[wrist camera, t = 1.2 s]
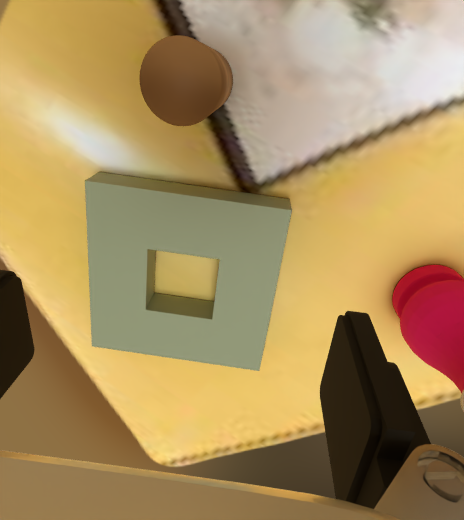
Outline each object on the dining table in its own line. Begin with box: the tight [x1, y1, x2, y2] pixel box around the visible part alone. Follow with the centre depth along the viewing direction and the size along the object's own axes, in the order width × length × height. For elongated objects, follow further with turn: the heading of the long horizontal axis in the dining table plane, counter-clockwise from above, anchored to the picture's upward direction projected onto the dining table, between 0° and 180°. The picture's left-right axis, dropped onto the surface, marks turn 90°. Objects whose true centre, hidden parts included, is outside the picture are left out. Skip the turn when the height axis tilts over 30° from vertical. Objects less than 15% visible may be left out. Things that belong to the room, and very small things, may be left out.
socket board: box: [85, 172, 292, 371], centre depth 34 cm, size 16×16×3 cm
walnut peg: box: [140, 35, 233, 126], centre depth 25 cm, size 4×4×9 cm
